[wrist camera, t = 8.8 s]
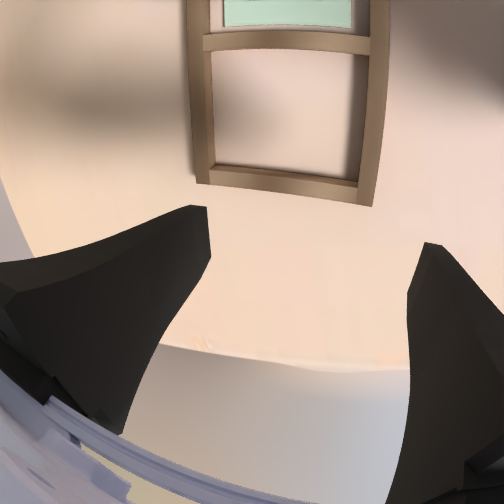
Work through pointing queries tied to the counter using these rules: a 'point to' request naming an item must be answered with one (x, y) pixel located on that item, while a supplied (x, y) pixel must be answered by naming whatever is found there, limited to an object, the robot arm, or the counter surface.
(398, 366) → the counter surface
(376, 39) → the rack
